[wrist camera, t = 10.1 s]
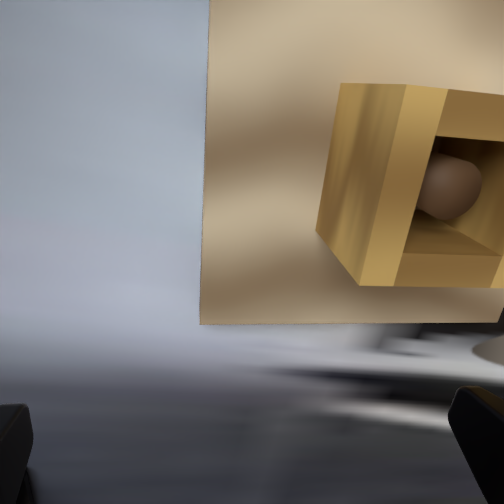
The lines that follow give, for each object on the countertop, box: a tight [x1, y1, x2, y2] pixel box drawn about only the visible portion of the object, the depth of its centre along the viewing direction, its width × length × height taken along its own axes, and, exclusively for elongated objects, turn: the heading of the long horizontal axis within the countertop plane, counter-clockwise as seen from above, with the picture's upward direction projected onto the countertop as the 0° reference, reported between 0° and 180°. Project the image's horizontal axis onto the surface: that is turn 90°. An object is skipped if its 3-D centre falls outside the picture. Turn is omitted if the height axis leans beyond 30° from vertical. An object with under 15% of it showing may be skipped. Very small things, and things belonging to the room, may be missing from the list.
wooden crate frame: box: [315, 83, 504, 288], centre depth 14 cm, size 6×6×5 cm
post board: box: [200, 0, 504, 325], centre depth 15 cm, size 16×16×6 cm
